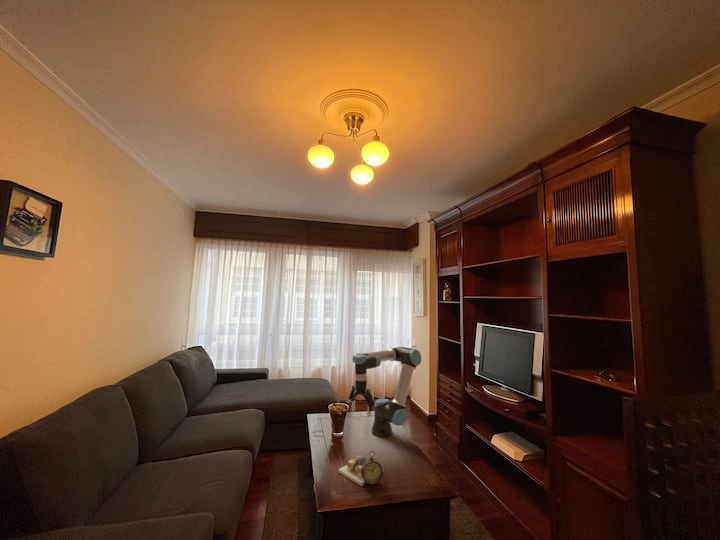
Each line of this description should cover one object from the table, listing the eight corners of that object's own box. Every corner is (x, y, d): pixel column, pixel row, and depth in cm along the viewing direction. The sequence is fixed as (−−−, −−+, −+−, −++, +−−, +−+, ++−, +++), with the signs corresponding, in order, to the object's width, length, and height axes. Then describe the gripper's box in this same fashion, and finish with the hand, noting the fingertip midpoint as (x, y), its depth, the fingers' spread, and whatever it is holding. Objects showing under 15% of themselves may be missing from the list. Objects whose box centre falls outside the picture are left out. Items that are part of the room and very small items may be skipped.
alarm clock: (362, 488, 148) (363, 454, 150) (360, 481, 154) (360, 449, 155) (382, 485, 151) (383, 452, 153) (379, 479, 156) (380, 447, 158)
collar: (361, 477, 155) (361, 469, 155) (347, 469, 162) (347, 461, 163) (374, 469, 163) (374, 461, 163) (360, 461, 170) (360, 454, 171)
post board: (360, 459, 175) (360, 446, 176) (383, 472, 163) (383, 457, 164) (338, 472, 162) (338, 458, 163) (361, 486, 150) (361, 471, 151)
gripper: (343, 377, 193) (343, 410, 191) (372, 384, 177) (372, 420, 175) (350, 375, 199) (351, 407, 197) (379, 381, 182) (380, 416, 180)
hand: (361, 413), depth 186 cm, fingers open, 13 cm apart
